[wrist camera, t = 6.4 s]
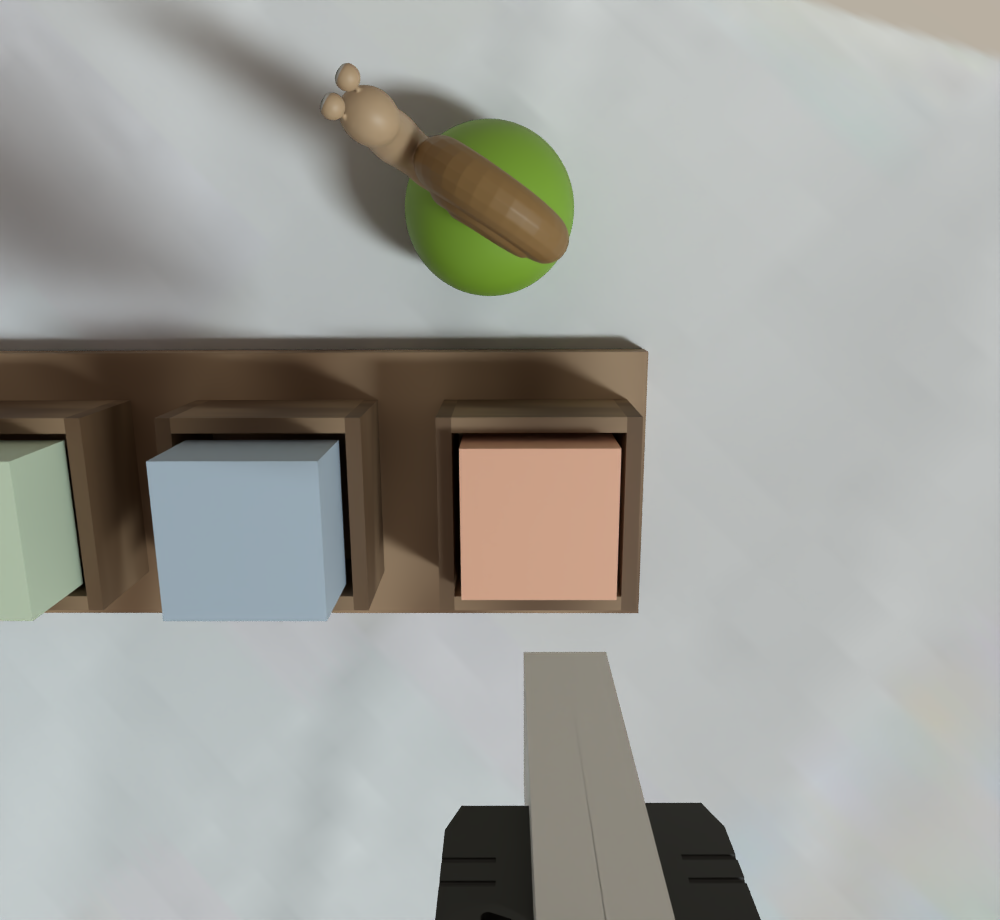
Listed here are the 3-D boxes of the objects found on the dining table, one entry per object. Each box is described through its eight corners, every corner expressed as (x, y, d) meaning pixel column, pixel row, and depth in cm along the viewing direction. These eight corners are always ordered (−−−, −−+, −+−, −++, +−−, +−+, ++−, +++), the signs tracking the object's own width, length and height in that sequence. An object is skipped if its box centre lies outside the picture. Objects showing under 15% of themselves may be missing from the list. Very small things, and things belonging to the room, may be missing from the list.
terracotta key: (466, 566, 29) (461, 600, 26) (464, 429, 28) (459, 448, 25) (605, 566, 29) (616, 599, 26) (609, 429, 28) (621, 448, 25)
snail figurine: (439, 86, 28) (389, -45, 16) (596, 188, 28) (658, 132, 17) (362, 227, 29) (264, 199, 17) (516, 321, 30) (521, 357, 18)
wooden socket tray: (-17, 602, 32) (-102, 655, 28) (-58, 350, 30) (-158, 365, 26) (634, 602, 32) (654, 656, 28) (643, 349, 30) (667, 363, 25)
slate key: (199, 583, 28) (163, 620, 25) (186, 440, 26) (145, 461, 23) (346, 583, 28) (326, 621, 25) (338, 439, 26) (317, 461, 23)
